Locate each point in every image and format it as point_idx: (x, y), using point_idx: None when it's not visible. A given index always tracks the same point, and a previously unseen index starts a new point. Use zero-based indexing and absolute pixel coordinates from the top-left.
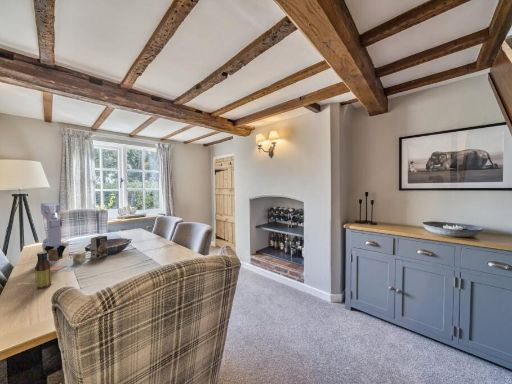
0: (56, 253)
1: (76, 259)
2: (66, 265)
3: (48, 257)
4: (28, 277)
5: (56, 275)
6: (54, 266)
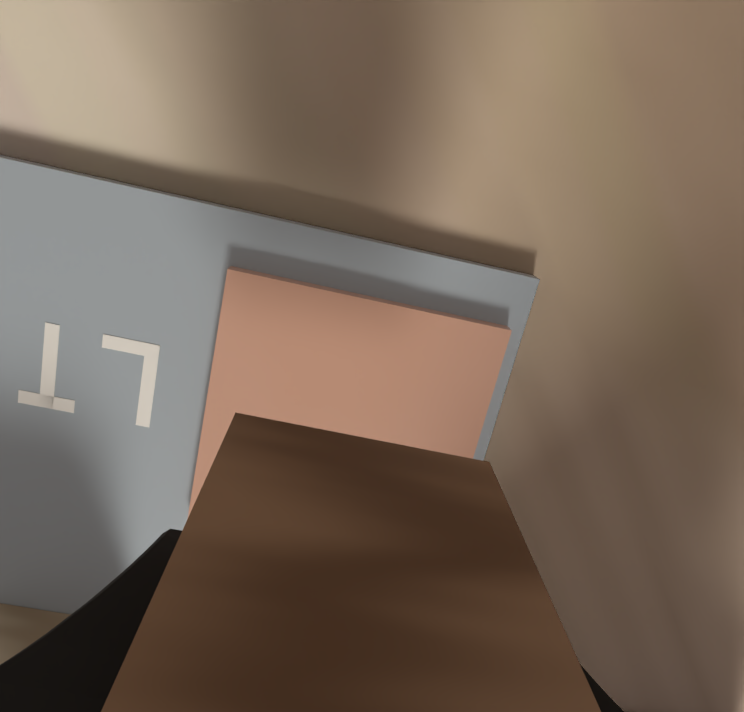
0: (175, 579)
1: None
2: None
3: (517, 528)
4: (691, 80)
5: (140, 7)
6: None
